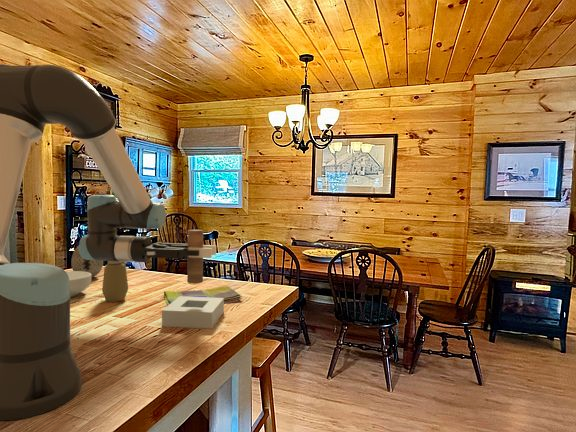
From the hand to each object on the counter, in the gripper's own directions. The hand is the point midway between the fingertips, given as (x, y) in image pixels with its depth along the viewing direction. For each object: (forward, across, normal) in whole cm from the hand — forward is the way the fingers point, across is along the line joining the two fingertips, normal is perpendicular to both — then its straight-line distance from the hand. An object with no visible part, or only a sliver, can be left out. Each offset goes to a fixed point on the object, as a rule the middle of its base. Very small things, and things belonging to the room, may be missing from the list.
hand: (213, 251), depth 107 cm
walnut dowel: (-5, 0, -9) cm, 10 cm away
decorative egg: (-64, -43, -20) cm, 80 cm away
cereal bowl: (-57, -18, -20) cm, 63 cm away
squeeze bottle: (-37, -15, -20) cm, 45 cm away
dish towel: (-9, -21, -21) cm, 31 cm away
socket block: (-5, 0, -20) cm, 21 cm away
